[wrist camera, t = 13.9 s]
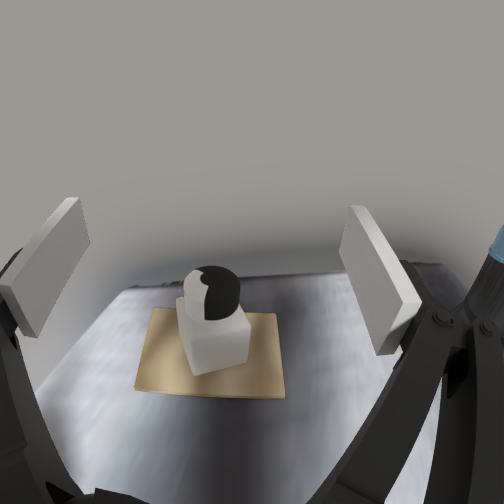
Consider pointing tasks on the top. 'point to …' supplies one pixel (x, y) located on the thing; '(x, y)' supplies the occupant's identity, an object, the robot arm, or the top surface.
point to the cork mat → (217, 382)
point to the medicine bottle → (212, 320)
